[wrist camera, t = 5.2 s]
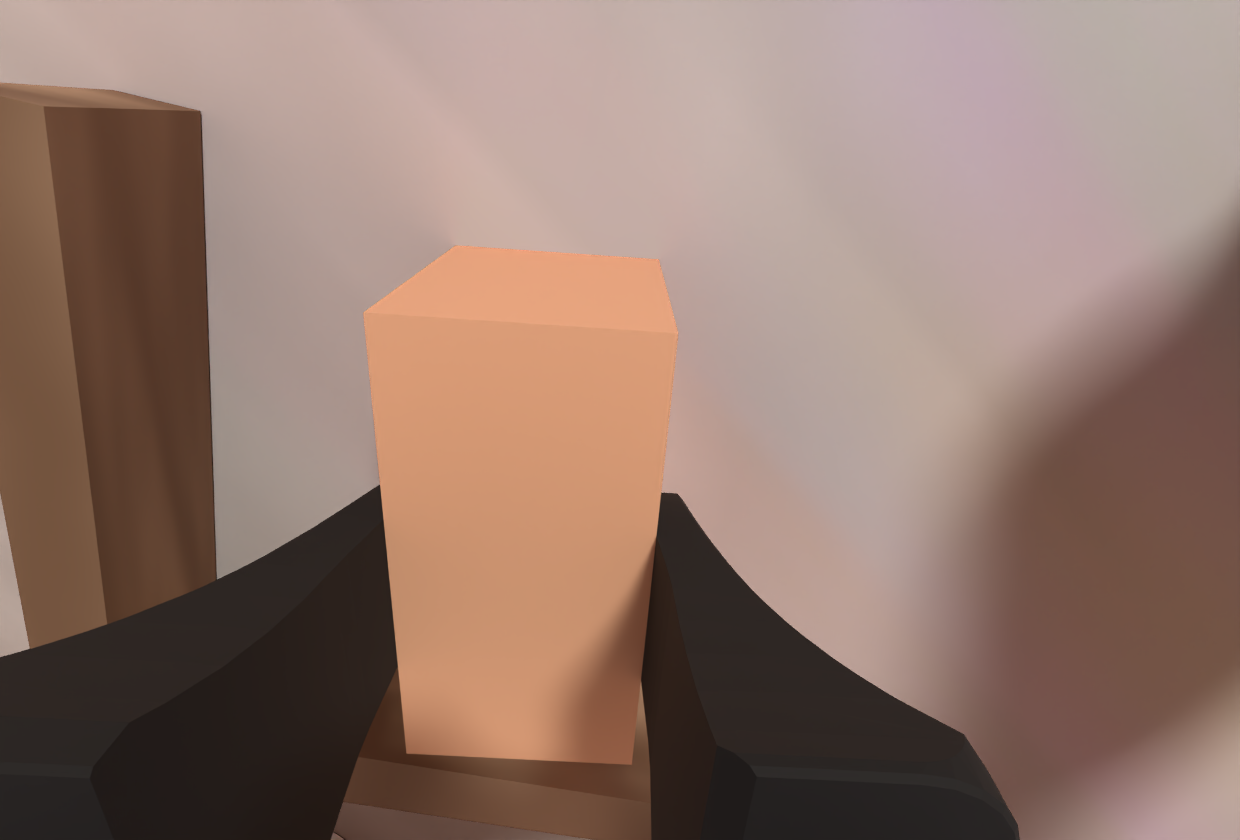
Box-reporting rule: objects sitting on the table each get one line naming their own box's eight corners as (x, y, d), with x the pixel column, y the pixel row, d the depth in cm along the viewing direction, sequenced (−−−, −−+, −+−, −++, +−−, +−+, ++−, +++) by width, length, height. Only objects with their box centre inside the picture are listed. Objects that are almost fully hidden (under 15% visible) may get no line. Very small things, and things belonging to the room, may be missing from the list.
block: (629, 584, 16) (631, 765, 12) (467, 575, 16) (406, 753, 12) (658, 259, 13) (678, 333, 8) (455, 245, 13) (363, 312, 8)
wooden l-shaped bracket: (852, 267, 13) (928, 315, 10) (681, 726, 18) (693, 854, 15) (113, 90, 12) (-79, 77, 8) (158, 637, 17) (50, 757, 14)
